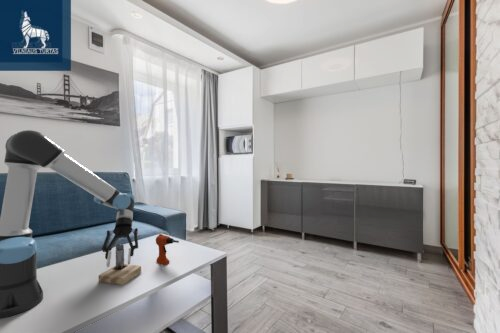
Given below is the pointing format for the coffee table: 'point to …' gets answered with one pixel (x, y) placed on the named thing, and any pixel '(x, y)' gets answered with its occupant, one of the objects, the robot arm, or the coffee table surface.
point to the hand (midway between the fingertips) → (118, 264)
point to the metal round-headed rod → (119, 257)
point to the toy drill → (163, 248)
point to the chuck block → (120, 274)
